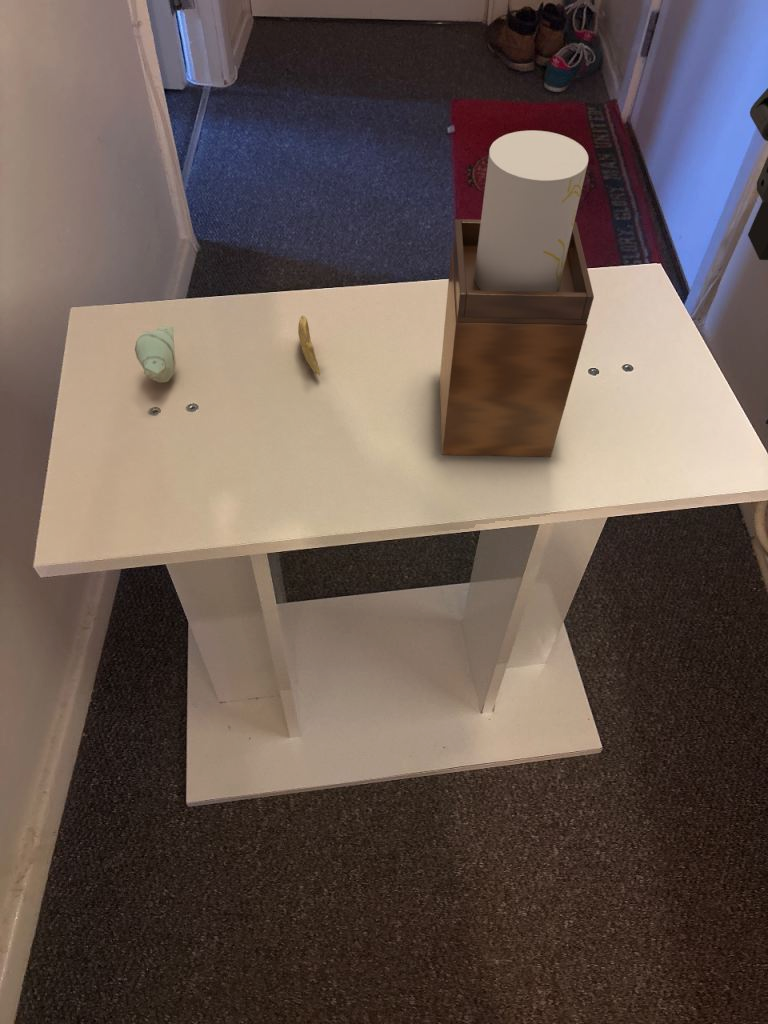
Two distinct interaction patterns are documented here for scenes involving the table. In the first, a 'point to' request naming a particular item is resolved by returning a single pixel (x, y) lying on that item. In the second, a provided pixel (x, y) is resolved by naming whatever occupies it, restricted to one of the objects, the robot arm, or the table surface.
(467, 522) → the table surface
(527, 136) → the white patterned cylinder
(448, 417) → the stand
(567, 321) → the holder
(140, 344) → the pale green rounded piece
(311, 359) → the pastry
